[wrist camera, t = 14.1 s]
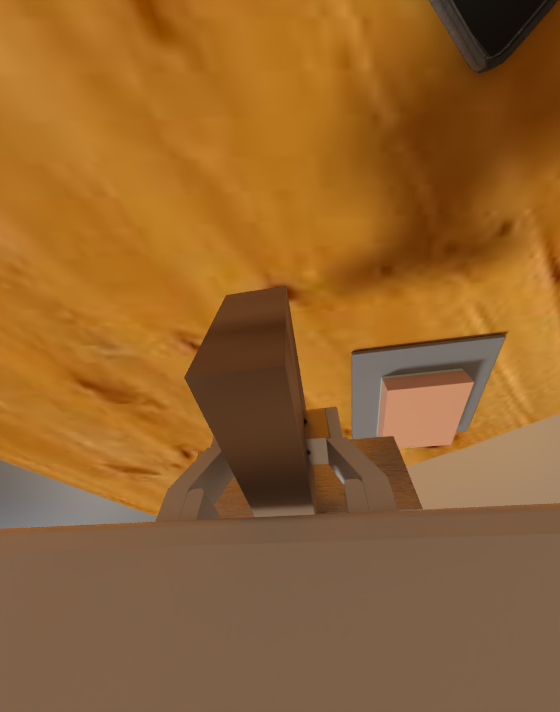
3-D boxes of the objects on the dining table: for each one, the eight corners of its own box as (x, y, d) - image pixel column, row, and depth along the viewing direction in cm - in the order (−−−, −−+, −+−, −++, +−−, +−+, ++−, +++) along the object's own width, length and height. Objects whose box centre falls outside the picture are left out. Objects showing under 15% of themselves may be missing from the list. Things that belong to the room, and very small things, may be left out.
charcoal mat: (351, 352, 26) (352, 354, 25) (501, 334, 24) (505, 337, 24) (351, 436, 34) (352, 440, 33) (464, 427, 32) (466, 431, 32)
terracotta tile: (387, 390, 25) (381, 449, 31) (474, 382, 24) (451, 444, 30) (381, 376, 27) (376, 435, 33) (462, 368, 26) (442, 429, 32)
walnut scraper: (115, 312, 11) (9, 398, 7) (417, 265, 9) (519, 337, 5) (205, 462, 17) (179, 553, 13) (391, 448, 16) (428, 545, 11)
